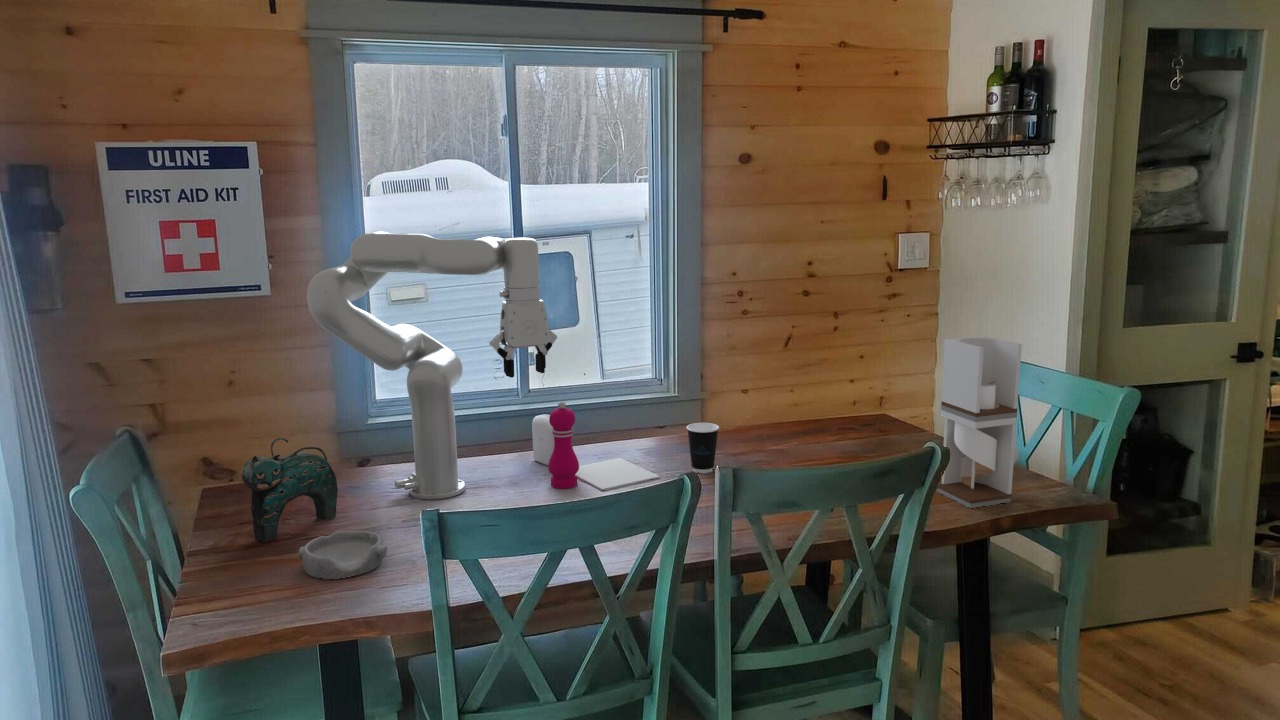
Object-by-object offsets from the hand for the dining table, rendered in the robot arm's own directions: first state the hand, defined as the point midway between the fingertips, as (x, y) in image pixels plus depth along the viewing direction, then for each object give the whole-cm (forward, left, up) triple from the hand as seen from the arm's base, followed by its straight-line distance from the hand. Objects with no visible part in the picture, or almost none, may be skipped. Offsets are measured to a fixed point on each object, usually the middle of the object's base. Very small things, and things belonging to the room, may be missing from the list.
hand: (525, 373), depth 205 cm
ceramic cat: (-50, +8, -28) cm, 58 cm away
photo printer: (+14, +17, -28) cm, 36 cm away
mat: (+22, 0, -28) cm, 35 cm away
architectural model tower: (+79, -60, -28) cm, 103 cm away
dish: (-47, -17, -28) cm, 57 cm away
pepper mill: (+9, 0, -28) cm, 29 cm away
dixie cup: (+42, -10, -28) cm, 51 cm away
